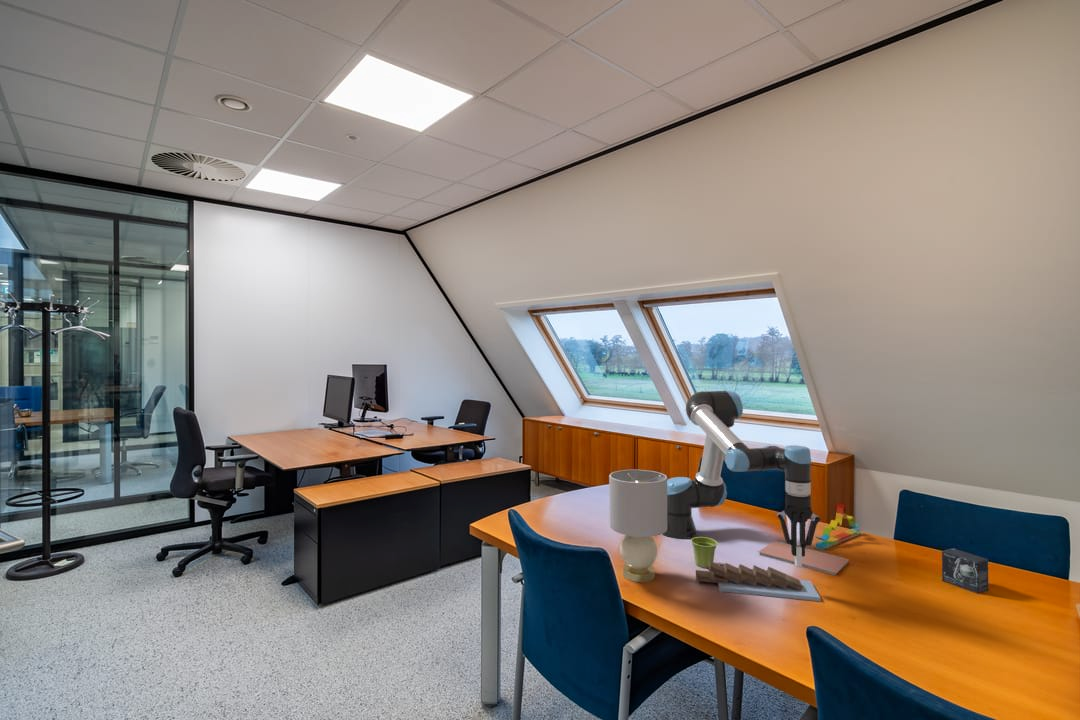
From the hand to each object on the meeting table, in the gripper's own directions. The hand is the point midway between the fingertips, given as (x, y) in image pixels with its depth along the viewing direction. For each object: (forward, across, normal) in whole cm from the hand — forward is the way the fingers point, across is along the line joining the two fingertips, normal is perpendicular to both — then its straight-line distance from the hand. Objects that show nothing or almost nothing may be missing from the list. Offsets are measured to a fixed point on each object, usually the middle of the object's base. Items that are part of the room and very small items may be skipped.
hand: (798, 565), depth 166 cm
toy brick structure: (+9, +27, +53) cm, 60 cm away
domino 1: (+6, -22, 0) cm, 23 cm away
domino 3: (+6, -13, 0) cm, 15 cm away
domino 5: (+7, -4, 0) cm, 8 cm away
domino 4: (+7, -9, 0) cm, 11 cm away
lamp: (+9, -52, 0) cm, 52 cm away
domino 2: (+6, -18, 0) cm, 19 cm away
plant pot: (+9, -28, +15) cm, 33 cm away
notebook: (+9, +8, +30) cm, 32 cm away
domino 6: (+6, 0, 0) cm, 6 cm away
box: (+9, +54, +17) cm, 58 cm away
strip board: (+8, -10, 0) cm, 13 cm away
